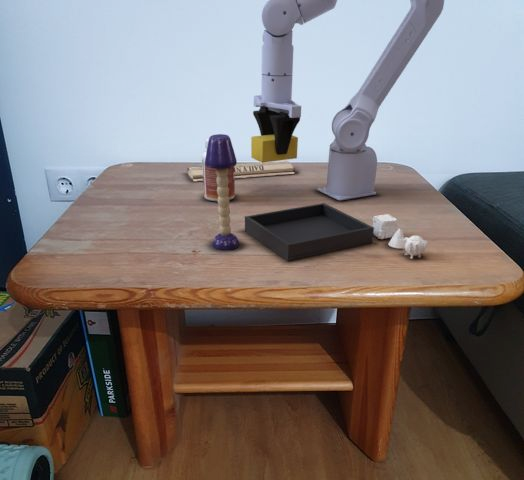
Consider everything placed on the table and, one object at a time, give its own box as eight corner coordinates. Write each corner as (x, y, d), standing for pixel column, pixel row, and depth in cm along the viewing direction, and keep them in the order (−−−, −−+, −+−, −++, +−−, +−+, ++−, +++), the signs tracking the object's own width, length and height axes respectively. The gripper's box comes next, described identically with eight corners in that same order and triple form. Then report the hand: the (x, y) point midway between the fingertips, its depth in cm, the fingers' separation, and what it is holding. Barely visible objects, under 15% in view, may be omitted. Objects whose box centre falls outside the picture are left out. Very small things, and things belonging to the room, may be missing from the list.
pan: (323, 216, 97) (324, 202, 96) (372, 242, 87) (374, 227, 86) (244, 231, 91) (244, 216, 89) (287, 261, 80) (288, 244, 79)
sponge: (285, 153, 109) (286, 133, 107) (297, 158, 106) (298, 137, 104) (251, 157, 106) (251, 136, 104) (262, 162, 103) (262, 141, 100)
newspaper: (284, 166, 127) (284, 158, 126) (294, 174, 122) (295, 166, 121) (187, 173, 121) (186, 165, 120) (193, 181, 115) (193, 173, 114)
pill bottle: (240, 199, 105) (240, 140, 99) (213, 204, 102) (211, 144, 96) (225, 191, 110) (223, 134, 104) (198, 196, 107) (195, 138, 101)
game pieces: (369, 234, 90) (372, 215, 88) (386, 231, 91) (389, 213, 89) (409, 261, 81) (413, 241, 79) (428, 258, 82) (431, 238, 80)
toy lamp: (227, 253, 82) (224, 140, 73) (203, 247, 85) (197, 136, 75) (244, 243, 86) (243, 134, 77) (220, 237, 88) (217, 131, 79)
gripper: (239, 71, 102) (240, 145, 109) (278, 79, 91) (276, 161, 98) (271, 70, 104) (270, 142, 112) (312, 78, 94) (308, 157, 101)
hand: (275, 151), depth 105 cm, fingers closed on sponge, 4 cm apart
